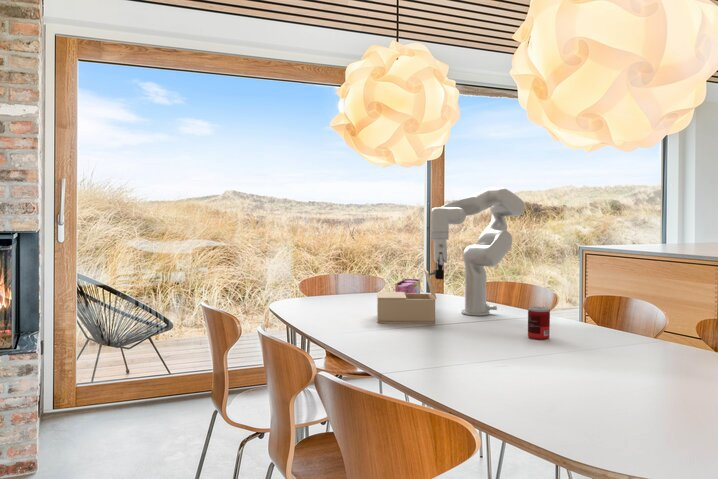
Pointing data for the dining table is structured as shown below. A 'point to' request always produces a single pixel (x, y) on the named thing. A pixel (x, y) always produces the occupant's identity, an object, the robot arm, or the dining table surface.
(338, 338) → the dining table surface
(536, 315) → the canned food
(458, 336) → the dining table surface
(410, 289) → the gum box
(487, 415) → the dining table surface
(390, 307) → the carton
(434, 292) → the carton flap
